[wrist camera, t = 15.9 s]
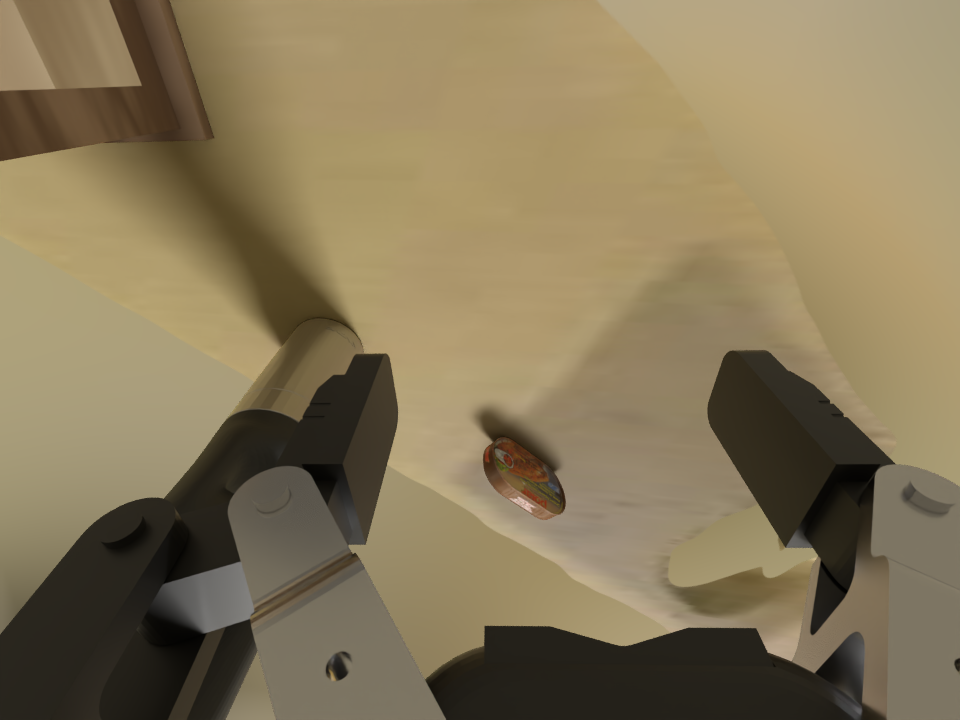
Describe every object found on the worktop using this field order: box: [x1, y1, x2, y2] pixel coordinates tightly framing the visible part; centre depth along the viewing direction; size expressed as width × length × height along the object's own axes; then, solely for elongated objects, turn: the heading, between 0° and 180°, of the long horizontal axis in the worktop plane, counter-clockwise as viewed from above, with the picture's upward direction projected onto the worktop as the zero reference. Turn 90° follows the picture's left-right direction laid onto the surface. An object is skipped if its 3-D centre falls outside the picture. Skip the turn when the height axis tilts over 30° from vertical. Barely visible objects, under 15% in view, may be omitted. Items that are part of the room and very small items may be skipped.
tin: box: [483, 437, 566, 520], centre depth 62 cm, size 15×3×8 cm, turn 46°
